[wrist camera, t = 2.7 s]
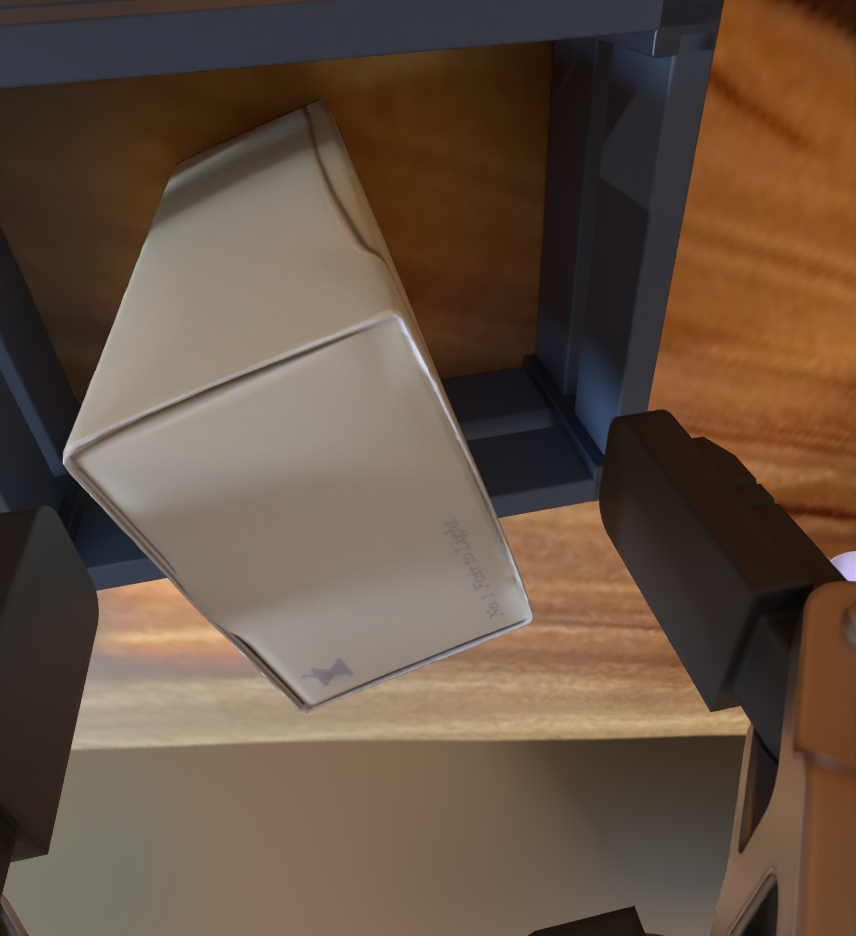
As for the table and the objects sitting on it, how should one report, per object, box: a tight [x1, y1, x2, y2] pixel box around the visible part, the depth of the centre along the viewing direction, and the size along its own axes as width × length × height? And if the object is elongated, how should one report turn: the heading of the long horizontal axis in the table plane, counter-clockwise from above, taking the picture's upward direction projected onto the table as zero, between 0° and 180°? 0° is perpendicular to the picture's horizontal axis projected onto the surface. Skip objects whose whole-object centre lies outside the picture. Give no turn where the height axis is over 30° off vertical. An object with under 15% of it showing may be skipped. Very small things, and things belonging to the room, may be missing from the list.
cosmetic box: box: [63, 100, 534, 713], centre depth 14 cm, size 6×4×12 cm
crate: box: [0, 0, 724, 591], centre depth 16 cm, size 16×12×6 cm
